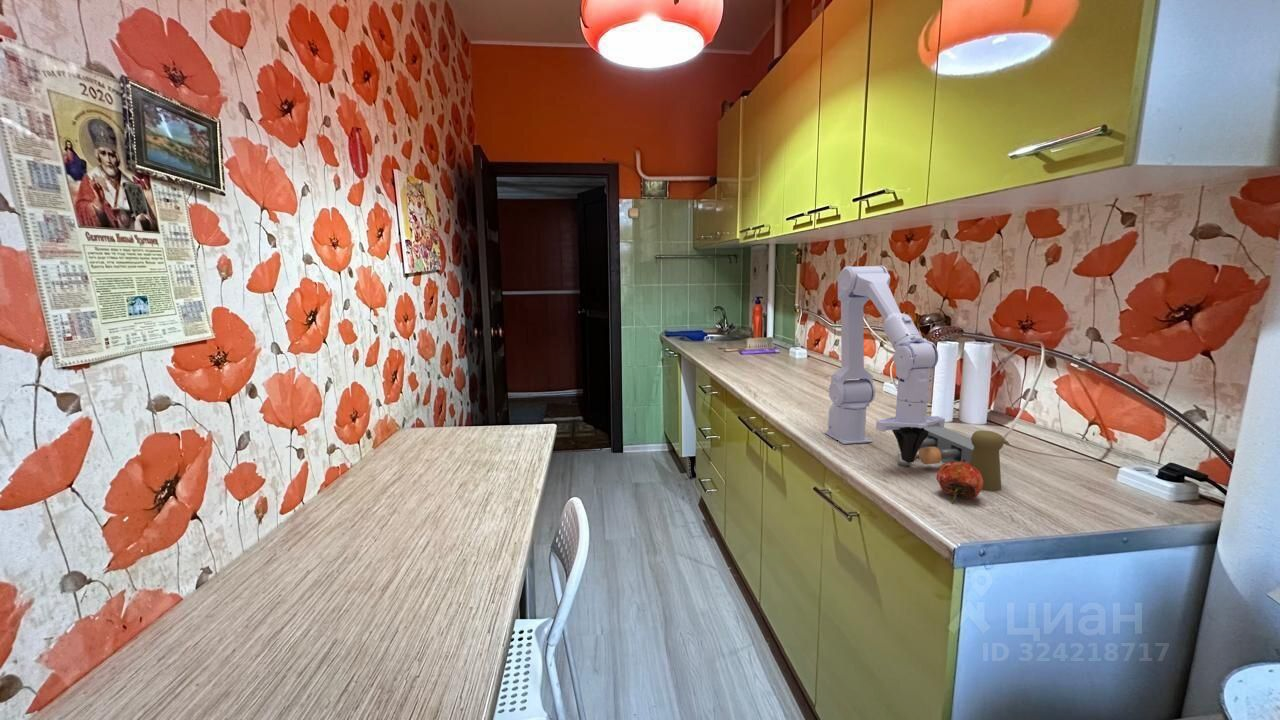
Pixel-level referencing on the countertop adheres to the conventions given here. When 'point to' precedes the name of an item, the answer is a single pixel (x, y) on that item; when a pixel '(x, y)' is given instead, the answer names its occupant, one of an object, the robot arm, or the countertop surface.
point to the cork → (987, 458)
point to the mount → (951, 442)
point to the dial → (903, 462)
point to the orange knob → (937, 454)
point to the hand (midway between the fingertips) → (907, 460)
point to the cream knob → (928, 443)
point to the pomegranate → (960, 479)
